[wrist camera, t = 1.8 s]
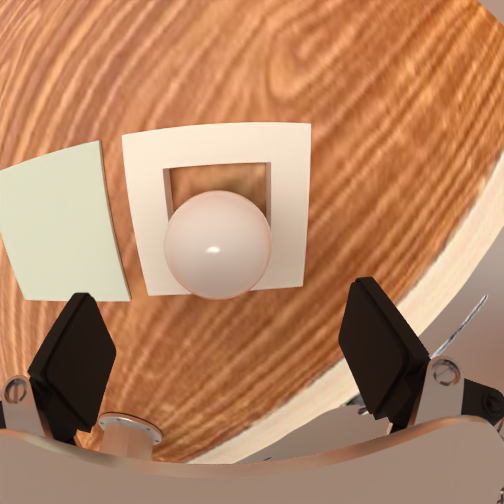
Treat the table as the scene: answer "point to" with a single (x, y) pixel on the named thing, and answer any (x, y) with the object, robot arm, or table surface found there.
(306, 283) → the table surface
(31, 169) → the sage mat
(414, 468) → the robot arm
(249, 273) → the lightbulb
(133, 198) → the pocket holder
